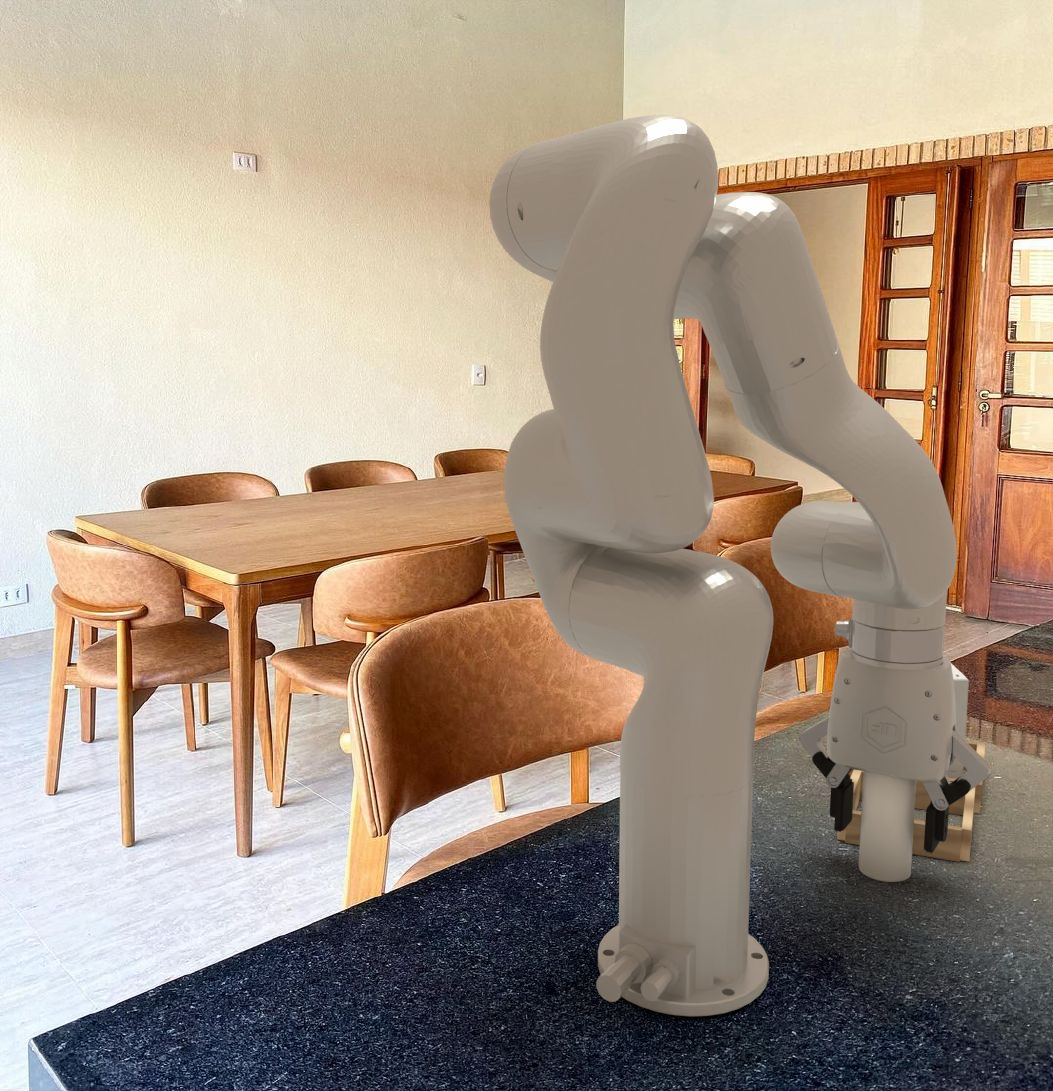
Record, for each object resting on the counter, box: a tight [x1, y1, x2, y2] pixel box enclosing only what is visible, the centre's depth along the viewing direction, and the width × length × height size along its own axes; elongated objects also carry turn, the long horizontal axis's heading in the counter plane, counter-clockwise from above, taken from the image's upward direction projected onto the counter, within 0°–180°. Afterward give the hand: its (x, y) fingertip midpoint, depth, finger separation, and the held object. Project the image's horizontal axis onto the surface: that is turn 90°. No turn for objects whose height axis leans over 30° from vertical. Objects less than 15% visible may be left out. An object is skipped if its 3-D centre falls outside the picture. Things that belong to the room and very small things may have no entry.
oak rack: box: [836, 740, 986, 863], centre depth 110 cm, size 25×13×3 cm, turn 156°
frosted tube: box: [858, 771, 916, 883], centre depth 95 cm, size 5×5×12 cm
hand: (886, 834), depth 96 cm, fingers open, 7 cm apart
